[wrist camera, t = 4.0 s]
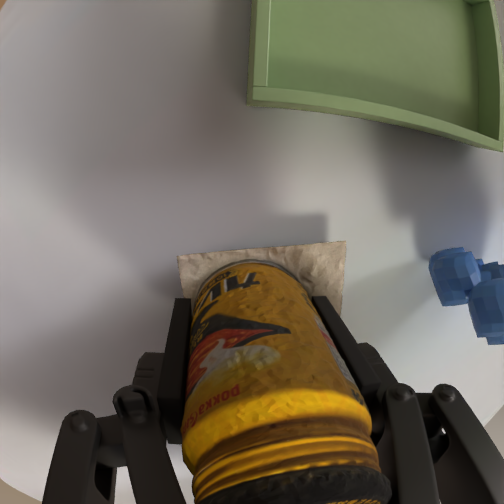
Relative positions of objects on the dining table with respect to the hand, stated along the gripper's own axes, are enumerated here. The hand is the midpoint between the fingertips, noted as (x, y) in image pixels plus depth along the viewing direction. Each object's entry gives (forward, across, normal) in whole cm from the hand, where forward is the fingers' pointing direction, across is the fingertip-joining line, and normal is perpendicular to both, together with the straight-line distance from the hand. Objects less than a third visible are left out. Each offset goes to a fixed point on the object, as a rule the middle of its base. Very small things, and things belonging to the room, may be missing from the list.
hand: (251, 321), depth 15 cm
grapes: (+2, -15, -2) cm, 15 cm away
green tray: (+2, -7, -16) cm, 18 cm away
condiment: (+1, -1, 0) cm, 1 cm away
